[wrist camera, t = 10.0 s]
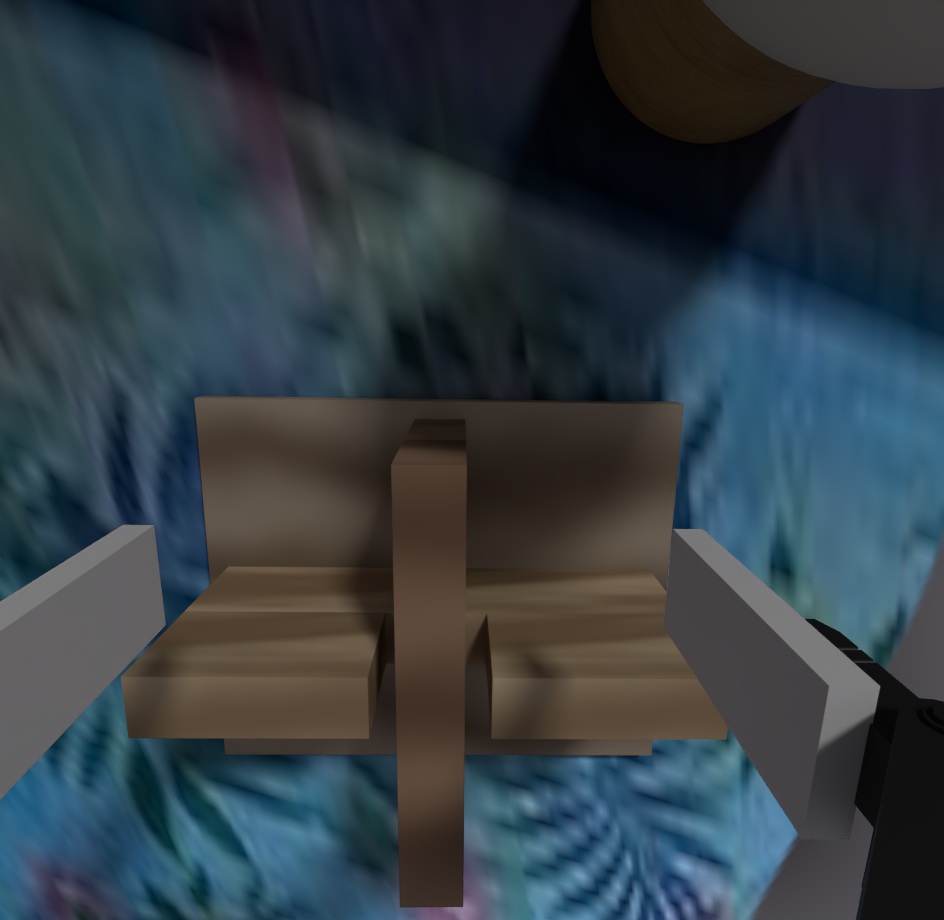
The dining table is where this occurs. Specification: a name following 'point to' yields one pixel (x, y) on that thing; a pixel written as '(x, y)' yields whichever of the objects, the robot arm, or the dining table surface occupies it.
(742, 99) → the lamp
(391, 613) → the wooden joinery piece
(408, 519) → the walnut plate
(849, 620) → the dining table surface
